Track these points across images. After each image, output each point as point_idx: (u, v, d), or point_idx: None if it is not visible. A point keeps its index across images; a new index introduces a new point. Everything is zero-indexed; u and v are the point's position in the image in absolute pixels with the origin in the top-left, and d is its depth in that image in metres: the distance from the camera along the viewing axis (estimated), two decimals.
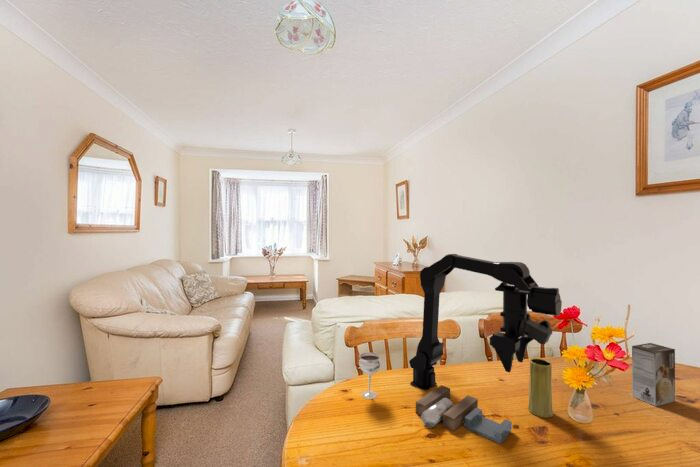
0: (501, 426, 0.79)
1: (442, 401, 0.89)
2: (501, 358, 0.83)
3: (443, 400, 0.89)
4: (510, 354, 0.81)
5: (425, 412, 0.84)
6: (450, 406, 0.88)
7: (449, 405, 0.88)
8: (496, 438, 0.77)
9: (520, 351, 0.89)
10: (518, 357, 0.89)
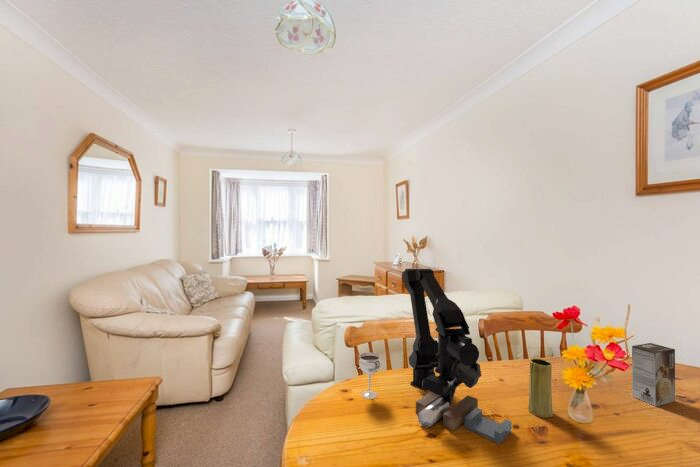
0: (501, 426, 0.79)
1: (437, 400, 0.89)
2: None
3: (438, 400, 0.89)
4: (448, 391, 0.89)
5: (420, 412, 0.84)
6: (446, 404, 0.88)
7: (444, 403, 0.88)
8: (496, 438, 0.77)
9: None
10: None
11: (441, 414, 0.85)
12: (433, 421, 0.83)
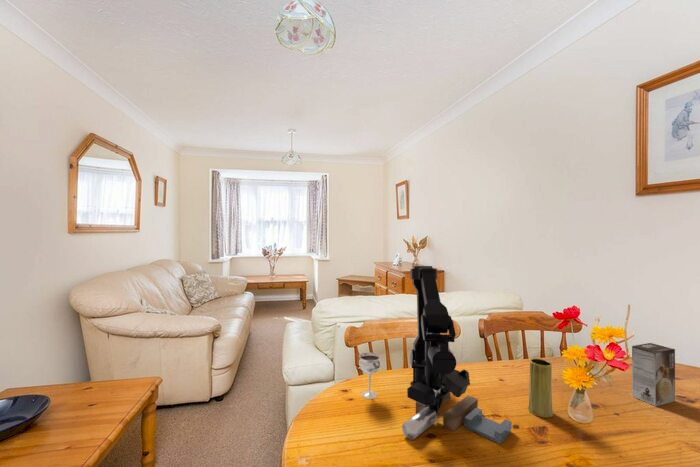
0: (501, 426, 0.79)
1: (423, 410, 0.84)
2: None
3: (424, 409, 0.85)
4: (435, 400, 0.84)
5: (405, 423, 0.79)
6: (432, 414, 0.83)
7: (431, 413, 0.83)
8: (496, 438, 0.77)
9: None
10: None
11: (427, 425, 0.81)
12: (418, 433, 0.78)
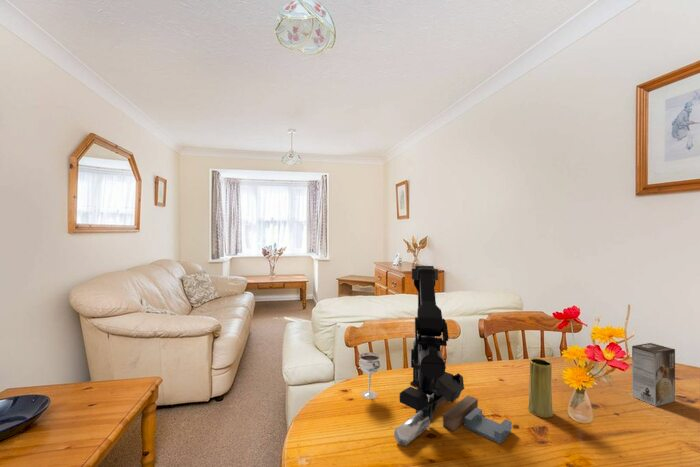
0: (501, 426, 0.79)
1: (416, 415, 0.82)
2: None
3: (417, 414, 0.82)
4: (428, 404, 0.82)
5: (397, 429, 0.77)
6: (425, 418, 0.81)
7: (424, 418, 0.81)
8: (496, 438, 0.77)
9: None
10: None
11: (420, 430, 0.78)
12: (410, 439, 0.76)
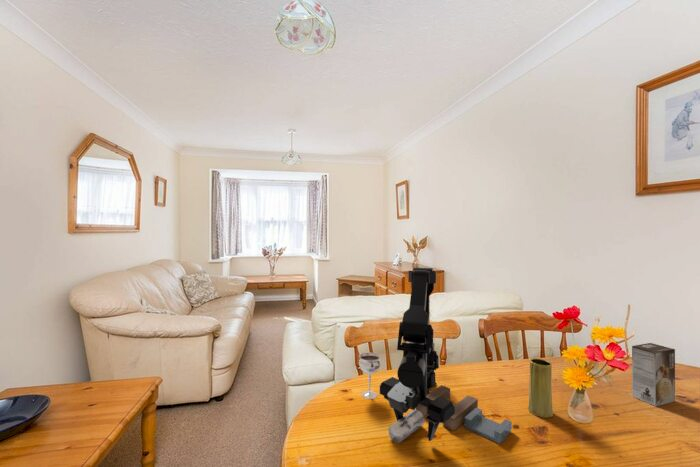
0: (501, 426, 0.79)
1: None
2: None
3: None
4: None
5: (389, 431, 0.79)
6: (414, 411, 0.84)
7: (412, 411, 0.84)
8: (496, 438, 0.77)
9: None
10: None
11: (411, 420, 0.80)
12: (402, 428, 0.77)
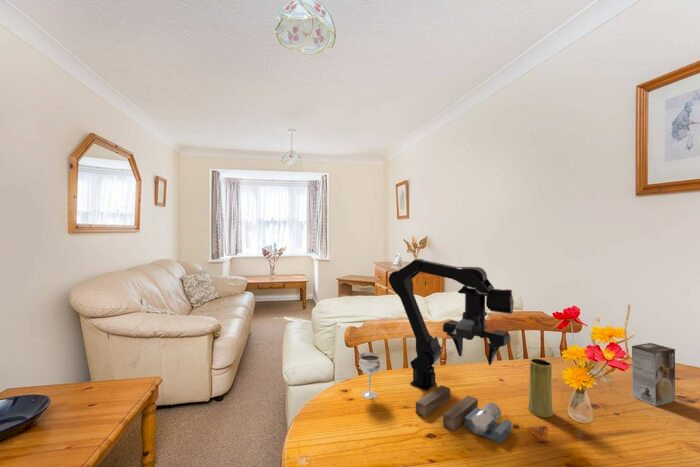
0: (501, 426, 0.79)
1: (487, 406, 0.85)
2: None
3: (487, 405, 0.85)
4: None
5: (472, 418, 0.80)
6: (496, 409, 0.84)
7: (495, 408, 0.84)
8: (496, 438, 0.77)
9: None
10: None
11: (493, 420, 0.81)
12: (486, 428, 0.79)
